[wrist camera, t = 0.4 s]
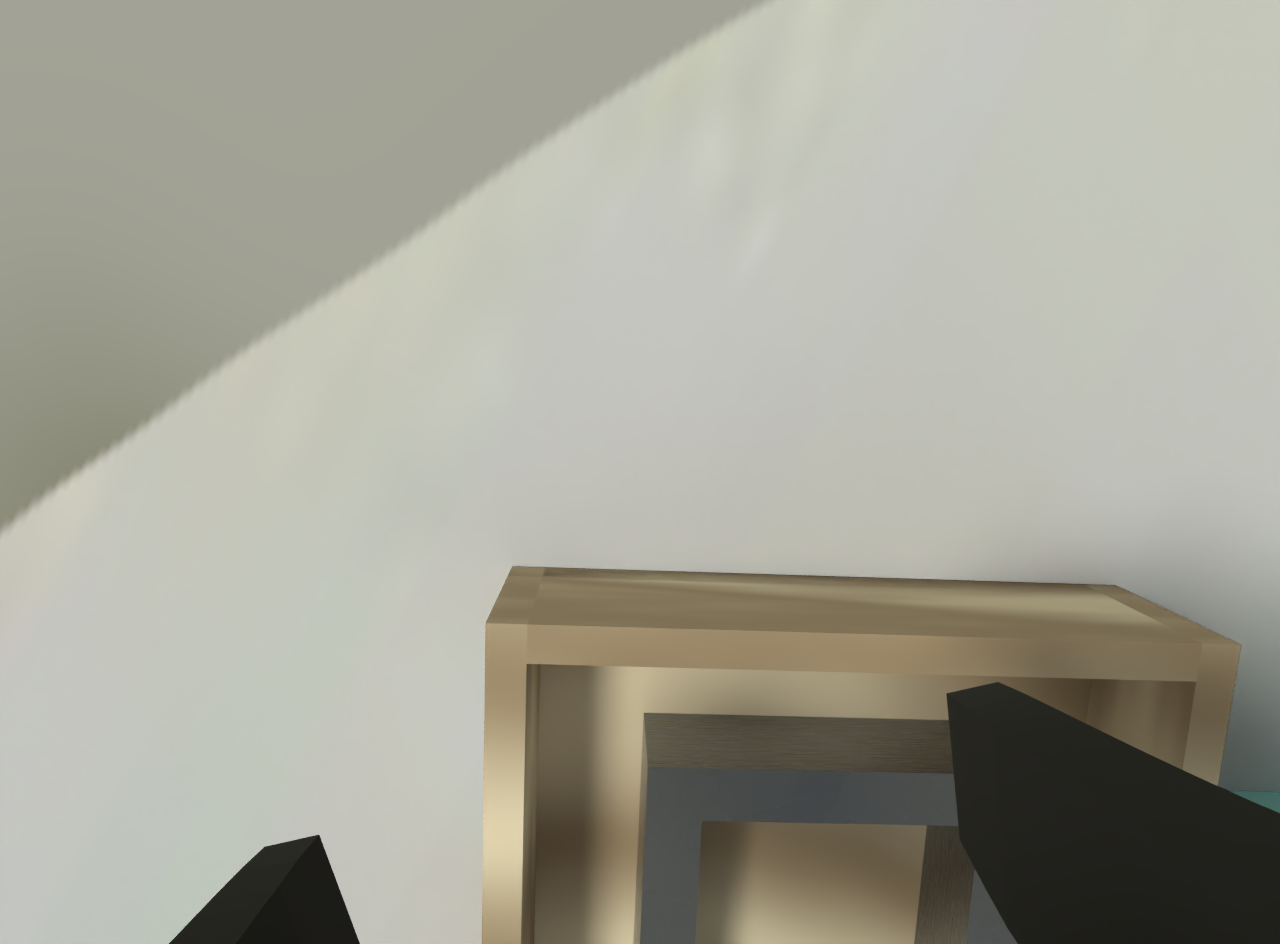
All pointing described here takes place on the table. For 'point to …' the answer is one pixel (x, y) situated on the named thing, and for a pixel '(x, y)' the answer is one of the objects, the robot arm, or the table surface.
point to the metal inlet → (800, 807)
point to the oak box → (785, 686)
